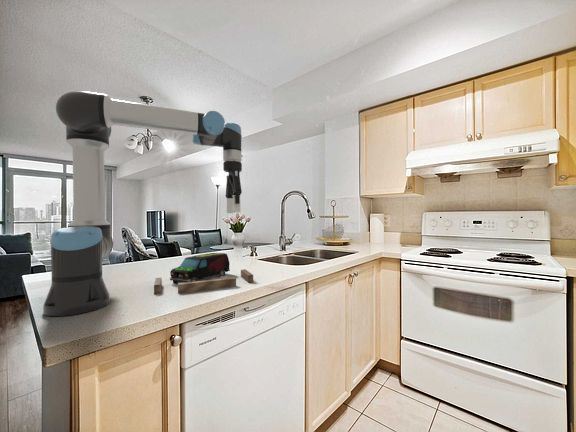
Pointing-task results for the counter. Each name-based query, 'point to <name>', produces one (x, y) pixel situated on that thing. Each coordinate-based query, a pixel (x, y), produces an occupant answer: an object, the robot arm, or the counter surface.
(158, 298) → the counter surface
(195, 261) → the toy van
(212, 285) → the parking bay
